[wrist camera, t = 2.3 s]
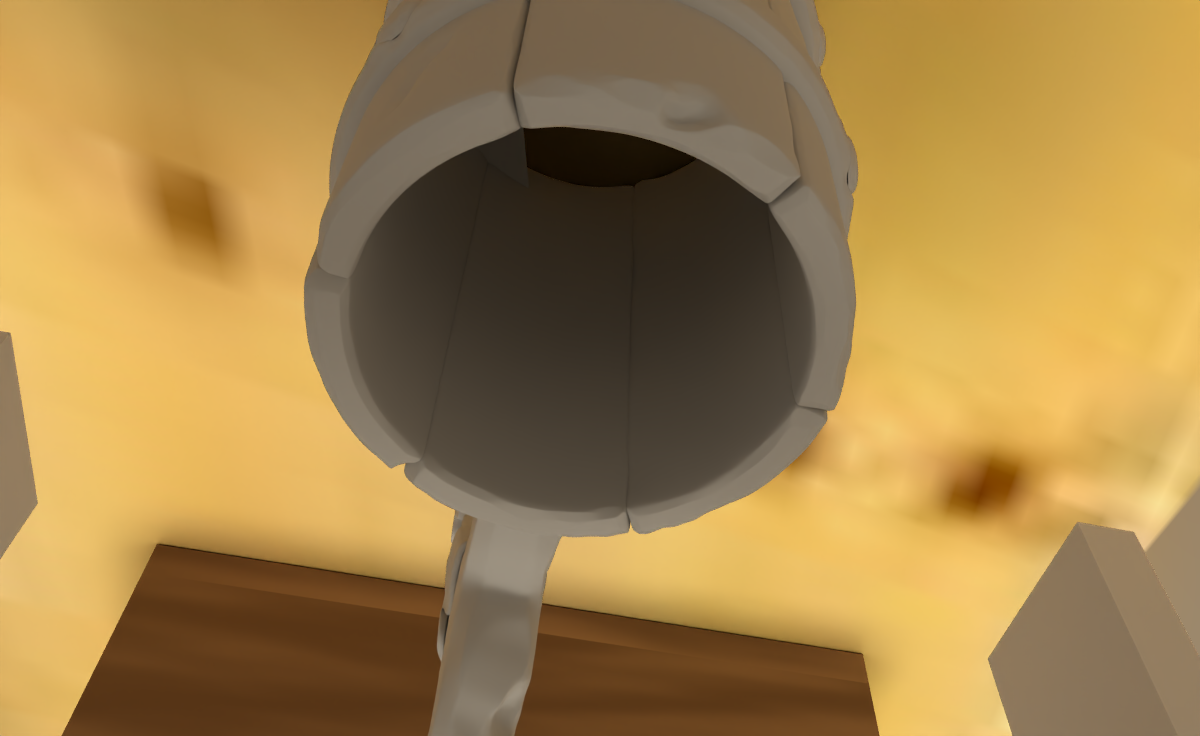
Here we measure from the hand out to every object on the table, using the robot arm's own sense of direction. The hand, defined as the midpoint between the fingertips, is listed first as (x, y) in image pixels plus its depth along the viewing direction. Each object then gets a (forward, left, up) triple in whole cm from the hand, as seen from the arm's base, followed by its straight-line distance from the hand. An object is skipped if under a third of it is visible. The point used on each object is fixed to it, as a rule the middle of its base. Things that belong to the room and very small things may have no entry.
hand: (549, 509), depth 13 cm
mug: (0, 0, -10) cm, 10 cm away
